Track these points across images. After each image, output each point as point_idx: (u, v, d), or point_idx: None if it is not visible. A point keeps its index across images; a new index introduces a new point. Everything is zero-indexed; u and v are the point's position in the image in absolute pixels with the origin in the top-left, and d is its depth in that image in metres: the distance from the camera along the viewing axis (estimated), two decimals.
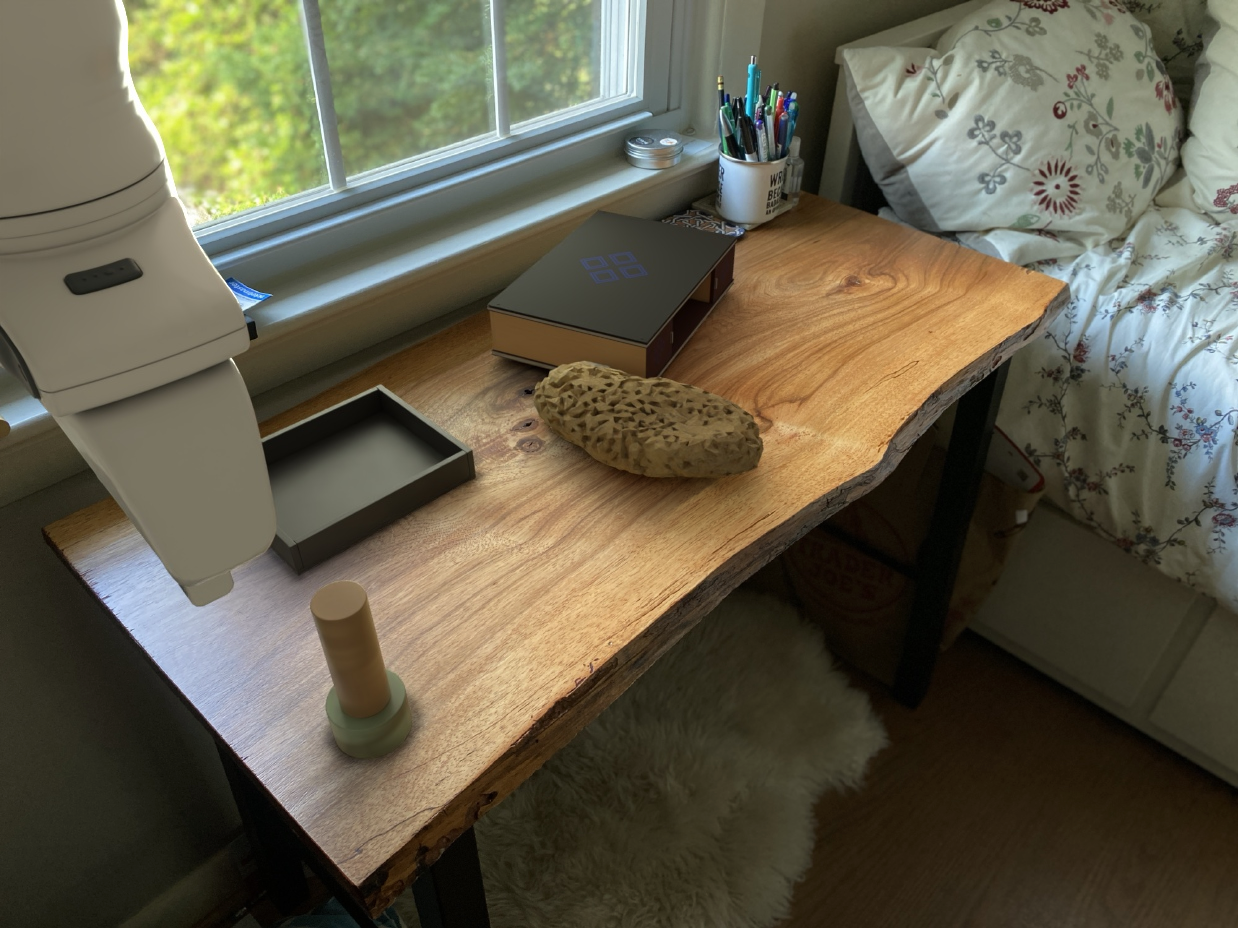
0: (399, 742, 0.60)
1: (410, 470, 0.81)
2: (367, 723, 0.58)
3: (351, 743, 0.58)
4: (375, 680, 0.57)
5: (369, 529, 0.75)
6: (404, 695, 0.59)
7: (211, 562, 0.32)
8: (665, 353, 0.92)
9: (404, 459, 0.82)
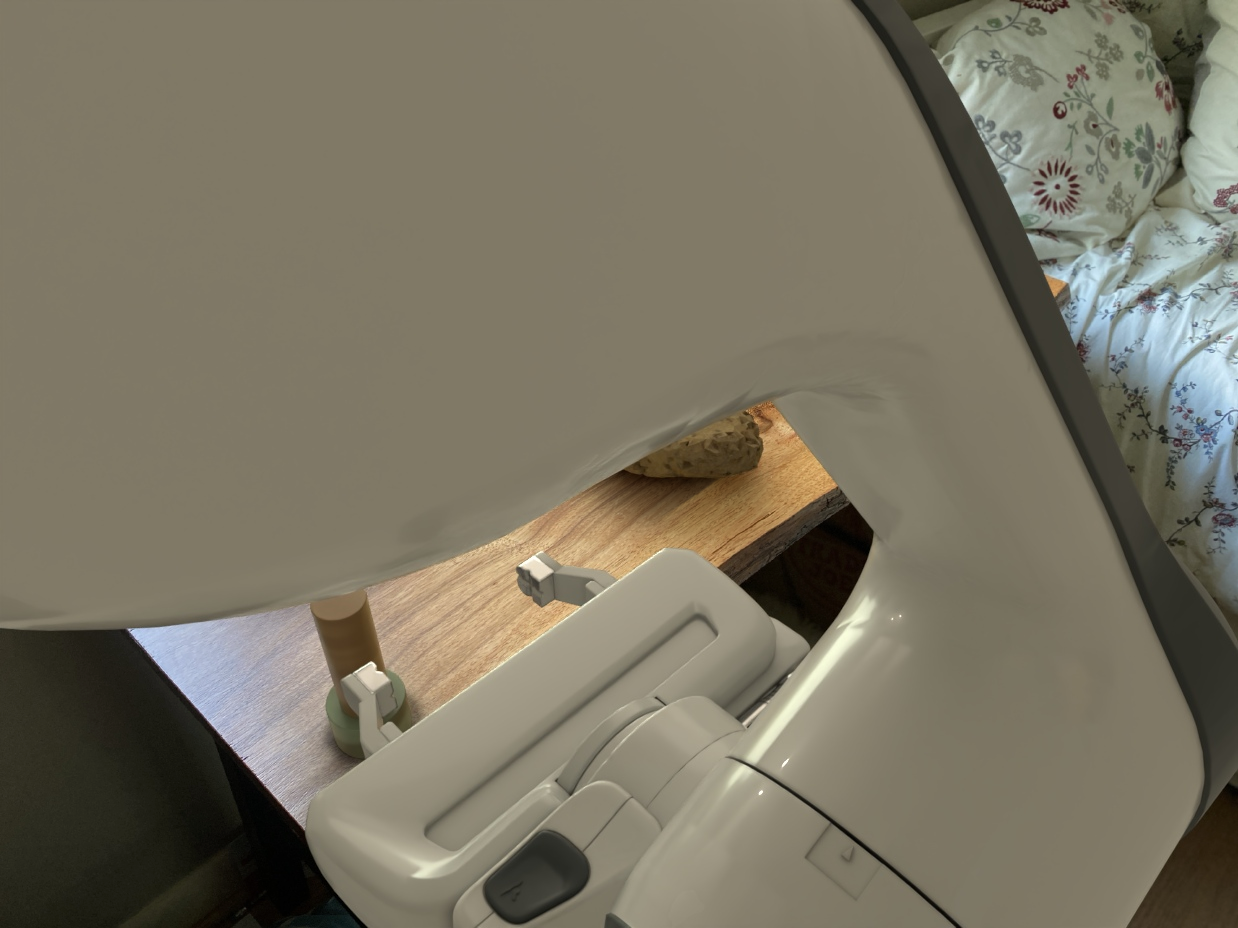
0: None
1: None
2: None
3: (351, 743, 0.58)
4: None
5: None
6: (404, 695, 0.59)
7: (314, 850, 0.33)
8: None
9: None
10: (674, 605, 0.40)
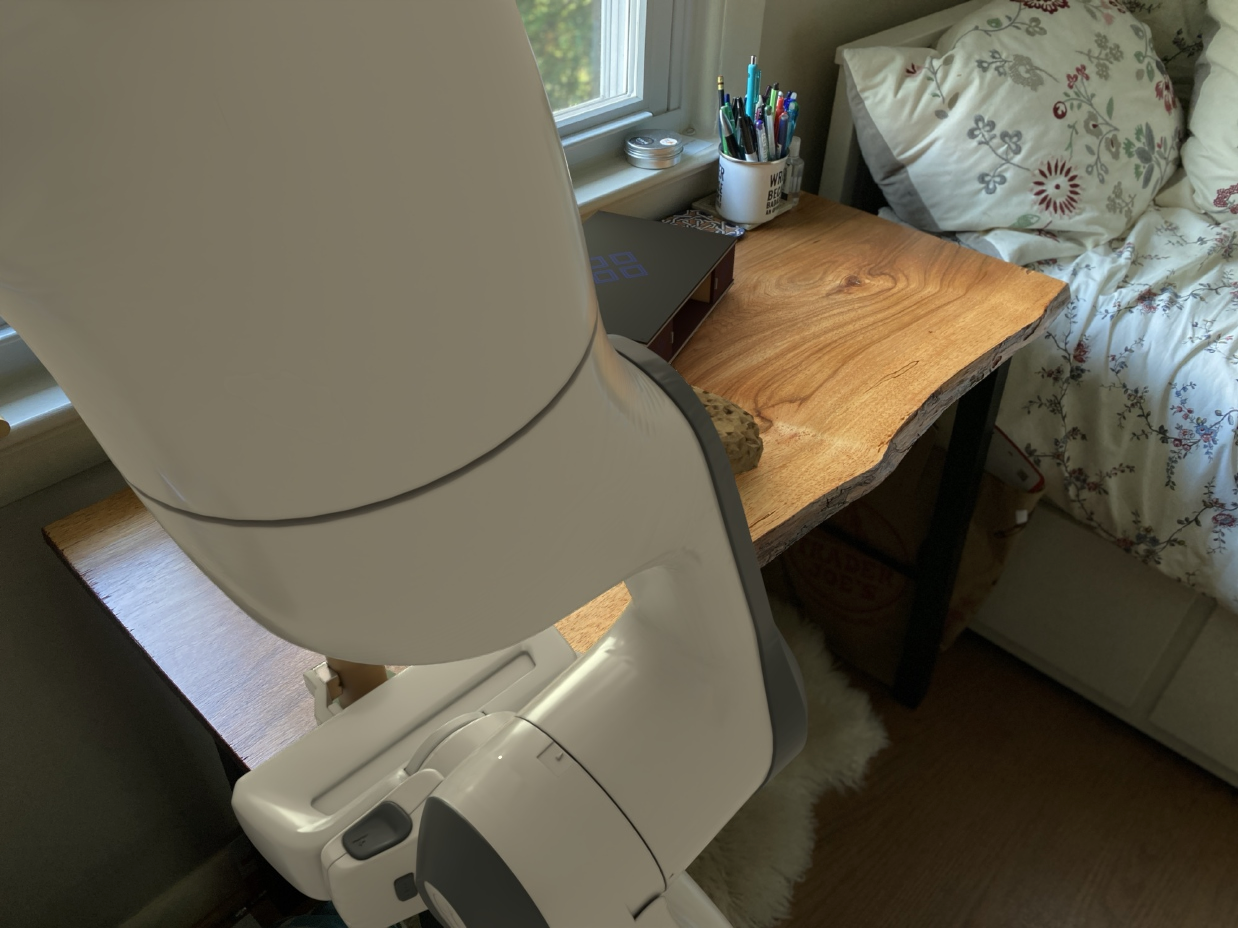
0: None
1: None
2: None
3: None
4: (375, 679, 0.57)
5: None
6: None
7: (237, 815, 0.48)
8: (665, 353, 0.92)
9: None
10: None
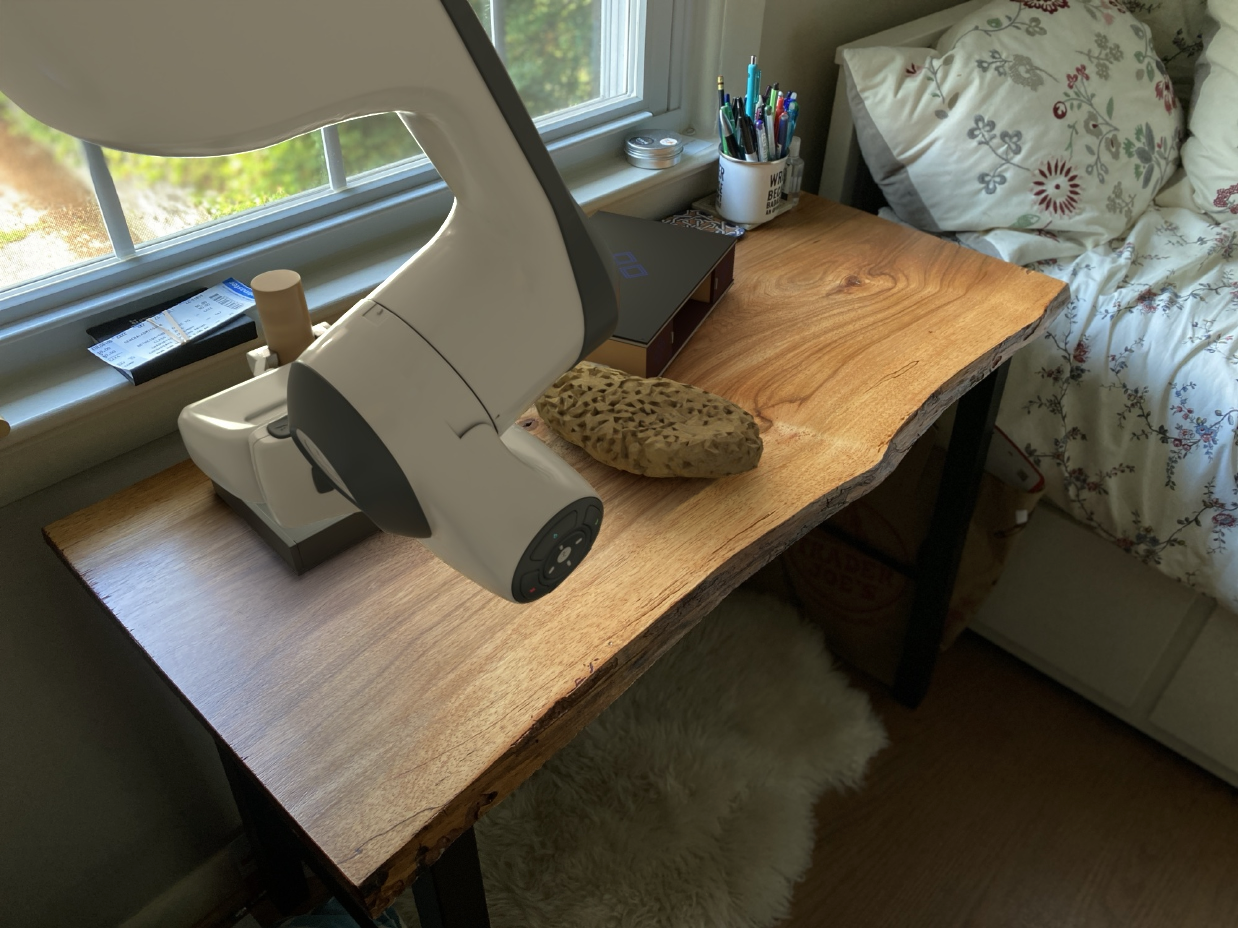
0: None
1: None
2: None
3: None
4: None
5: (369, 529, 0.75)
6: None
7: (183, 434, 0.57)
8: (665, 353, 0.92)
9: None
10: None
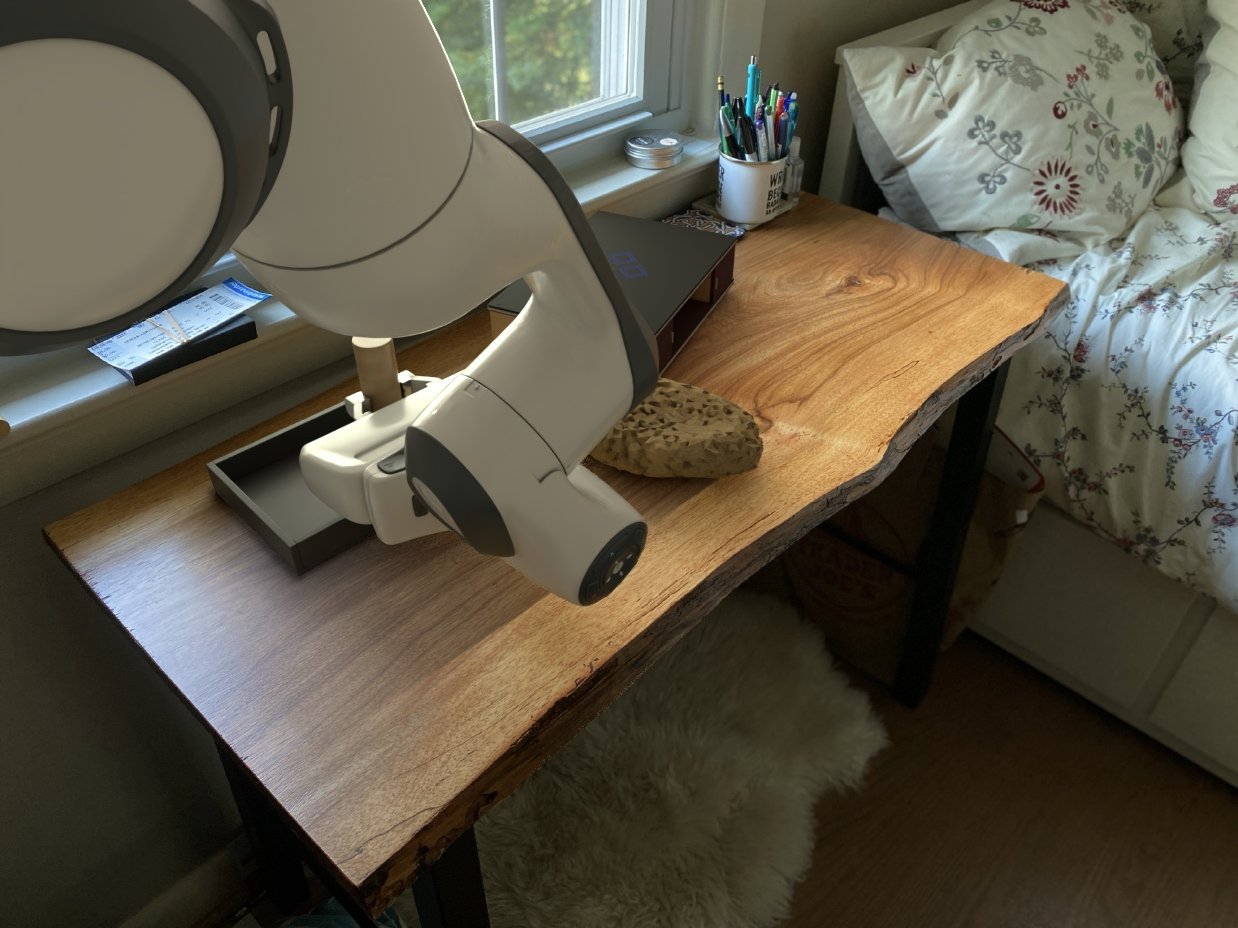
0: None
1: None
2: None
3: None
4: None
5: (369, 529, 0.75)
6: None
7: (303, 468, 0.70)
8: (665, 353, 0.92)
9: None
10: None
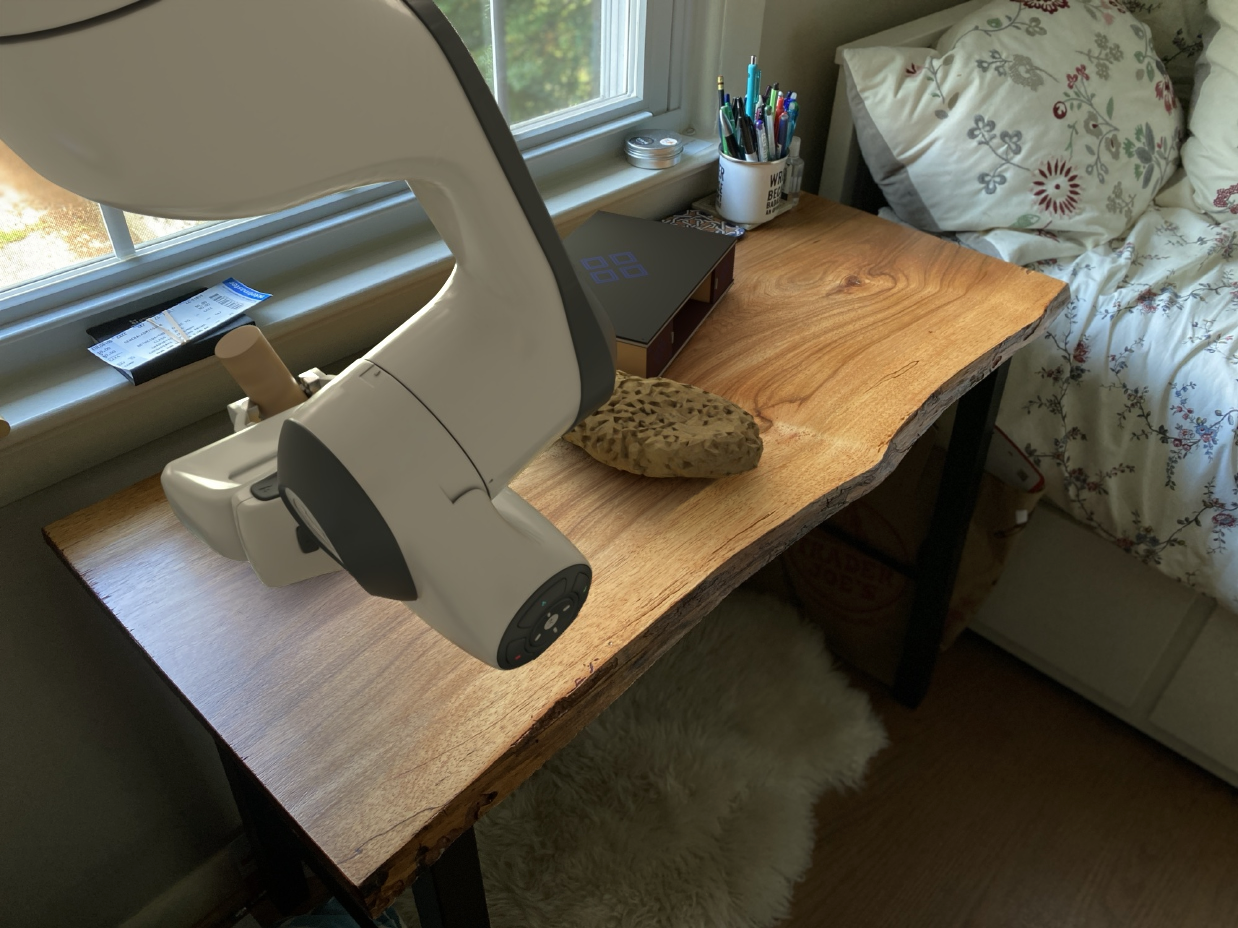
0: None
1: None
2: None
3: None
4: None
5: None
6: None
7: (166, 491, 0.56)
8: (665, 353, 0.92)
9: None
10: None
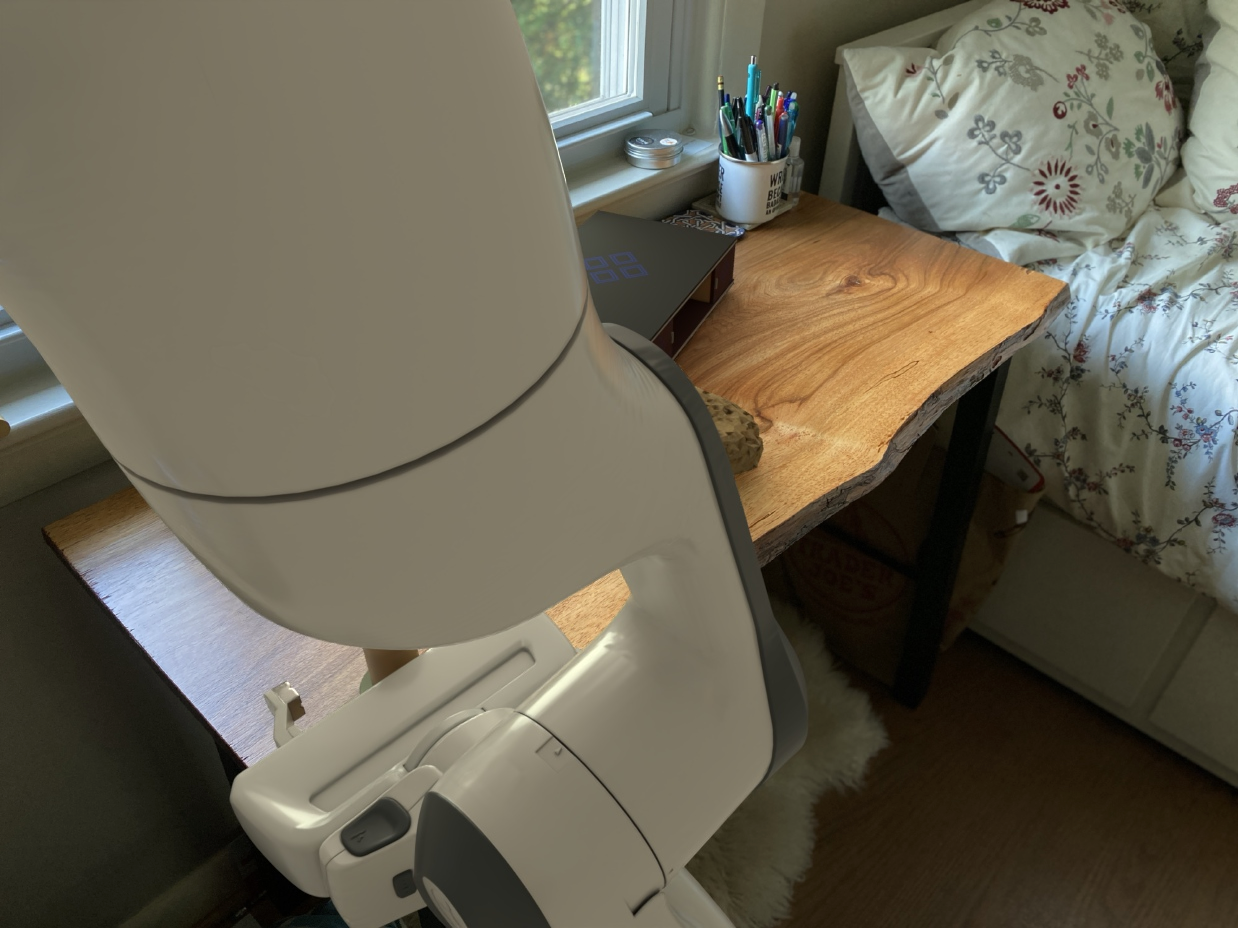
0: None
1: None
2: None
3: None
4: None
5: None
6: None
7: (236, 811, 0.48)
8: None
9: None
10: (507, 641, 0.56)
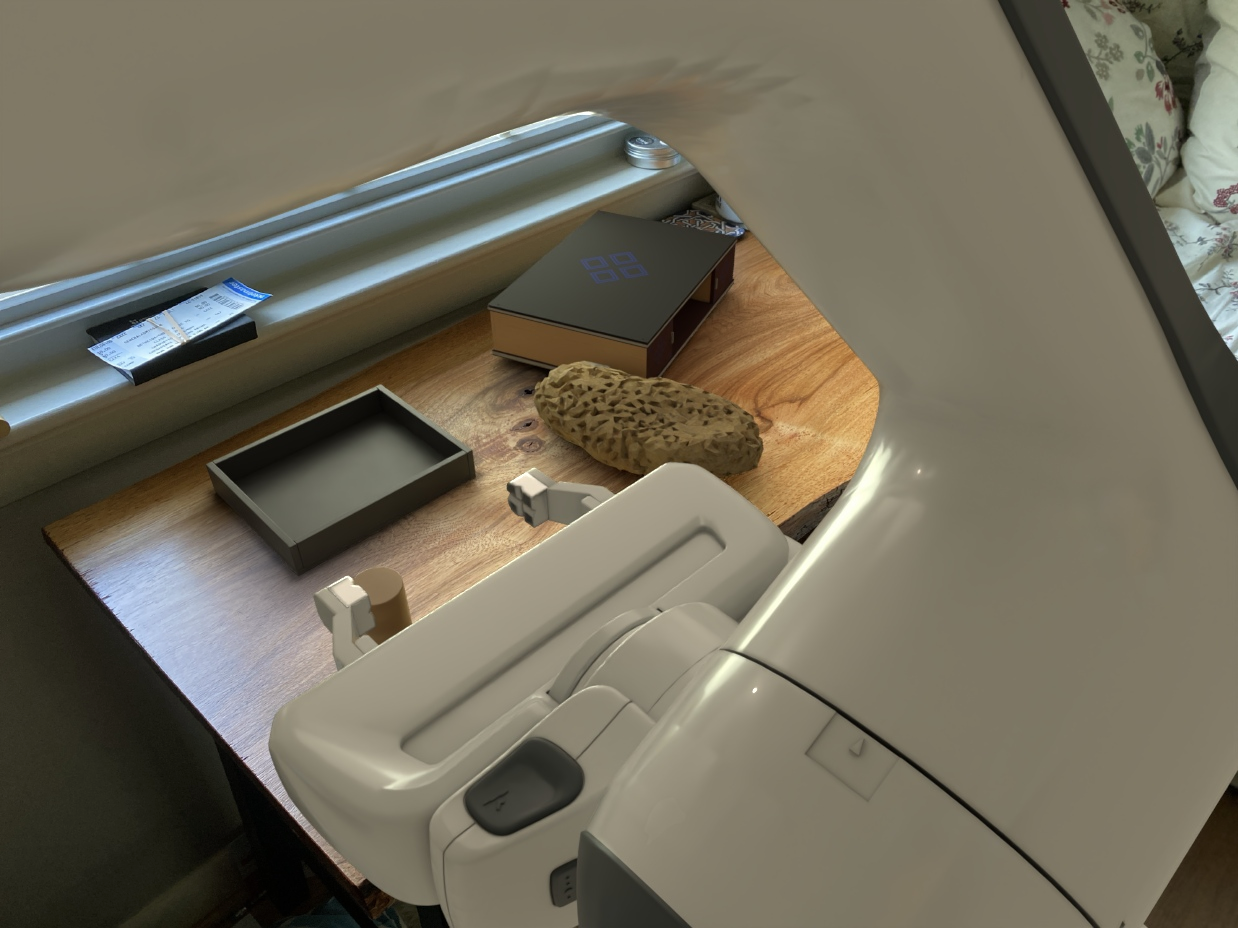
0: None
1: (410, 470, 0.81)
2: None
3: None
4: None
5: (369, 529, 0.75)
6: None
7: (278, 766, 0.30)
8: (666, 353, 0.92)
9: (404, 459, 0.82)
10: (677, 518, 0.37)
